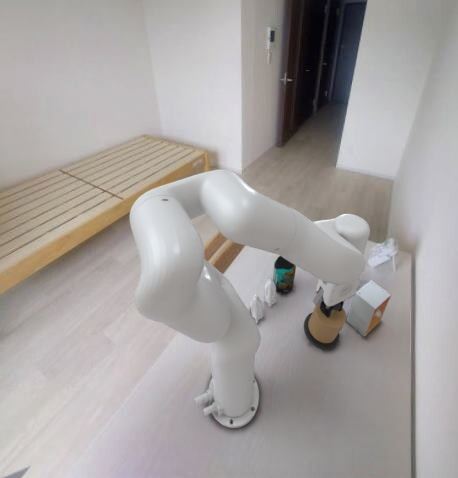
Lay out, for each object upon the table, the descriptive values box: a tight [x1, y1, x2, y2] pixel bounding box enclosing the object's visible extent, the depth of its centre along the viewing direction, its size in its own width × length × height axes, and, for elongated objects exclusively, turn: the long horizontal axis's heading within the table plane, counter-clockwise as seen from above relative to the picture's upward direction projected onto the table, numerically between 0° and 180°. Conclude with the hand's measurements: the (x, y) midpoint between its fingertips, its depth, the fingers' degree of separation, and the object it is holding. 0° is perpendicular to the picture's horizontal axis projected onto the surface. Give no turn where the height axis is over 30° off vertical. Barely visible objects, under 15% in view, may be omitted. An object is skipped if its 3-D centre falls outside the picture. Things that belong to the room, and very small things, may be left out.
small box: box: [346, 279, 392, 338], centre depth 79 cm, size 8×6×13 cm
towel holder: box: [303, 302, 347, 351], centre depth 75 cm, size 10×16×10 cm
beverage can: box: [272, 255, 297, 295], centre depth 91 cm, size 7×7×12 cm
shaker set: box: [250, 278, 278, 324], centre depth 85 cm, size 12×4×11 cm, turn 134°
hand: (330, 309), depth 73 cm, fingers open, 3 cm apart
